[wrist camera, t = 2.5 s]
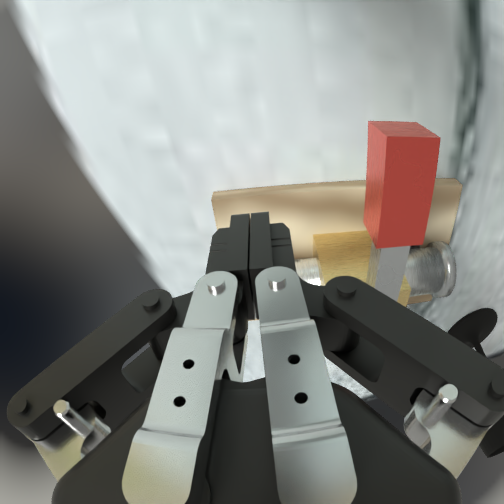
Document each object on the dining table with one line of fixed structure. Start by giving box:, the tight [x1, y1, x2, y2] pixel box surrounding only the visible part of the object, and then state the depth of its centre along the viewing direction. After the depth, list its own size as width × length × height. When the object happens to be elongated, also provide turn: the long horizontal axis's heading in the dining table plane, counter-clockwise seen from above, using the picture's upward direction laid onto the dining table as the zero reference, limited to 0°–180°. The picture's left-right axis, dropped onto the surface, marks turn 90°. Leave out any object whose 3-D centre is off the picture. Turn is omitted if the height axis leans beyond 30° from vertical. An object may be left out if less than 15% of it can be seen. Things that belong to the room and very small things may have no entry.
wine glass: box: [448, 308, 504, 457], centre depth 33 cm, size 10×10×20 cm
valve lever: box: [363, 121, 440, 301], centre depth 18 cm, size 17×3×3 cm, turn 6°
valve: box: [255, 230, 456, 318], centre depth 27 cm, size 6×19×8 cm, turn 96°
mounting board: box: [211, 178, 462, 321], centre depth 31 cm, size 15×23×2 cm, turn 96°
